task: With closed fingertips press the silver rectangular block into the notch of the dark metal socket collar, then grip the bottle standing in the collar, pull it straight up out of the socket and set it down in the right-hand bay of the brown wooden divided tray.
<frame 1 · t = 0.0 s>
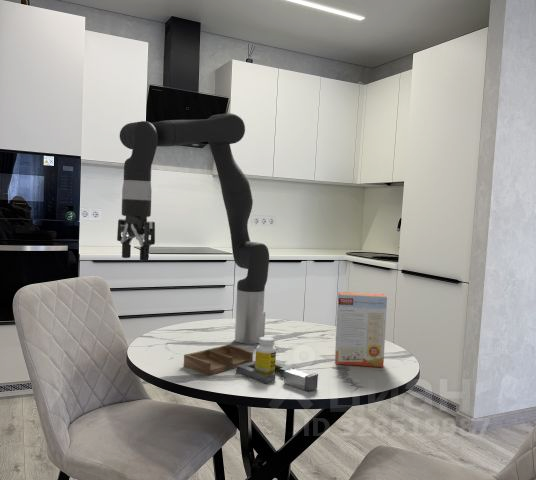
hand: (134, 259, 134), 29 cm above the table, fingers open, 8 cm apart
socket: (264, 374, 135), on the table
silver rectangular block: (300, 378, 127), point 2 cm above the table, slide at 4.0 cm
cracker box: (358, 364, 149), on the table
brown wooden divided tray: (218, 364, 142), on the table
supplement bottle: (264, 375, 135), resting in socket
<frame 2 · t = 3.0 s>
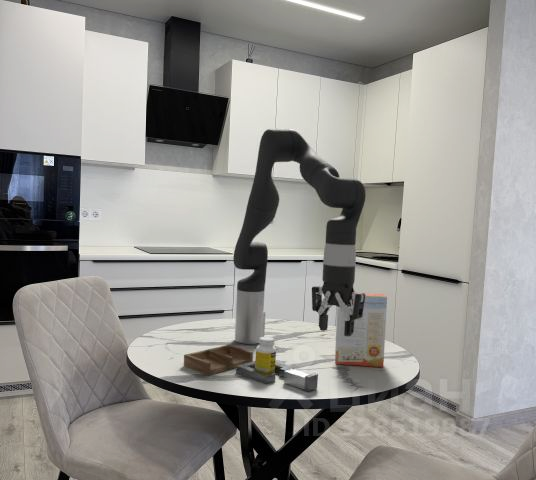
hand: (335, 332, 119), 16 cm above the table, fingers open, 6 cm apart
nothing on the table moved.
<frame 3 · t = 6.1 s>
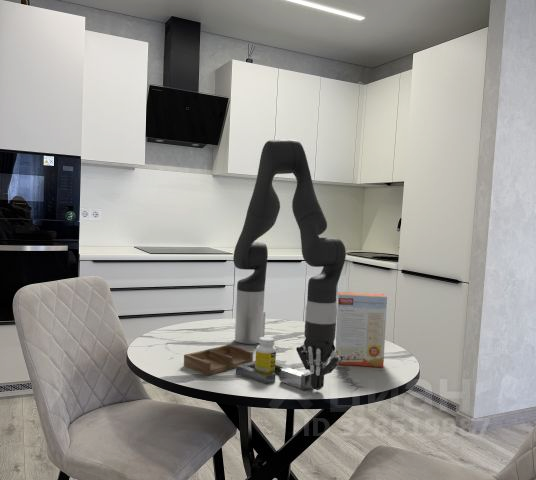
hand: (316, 388, 124), 1 cm above the table, fingers closed
silver rectangular block: (296, 377, 128), point 2 cm above the table, slide at 2.8 cm, touching gripper
everything else where it was.
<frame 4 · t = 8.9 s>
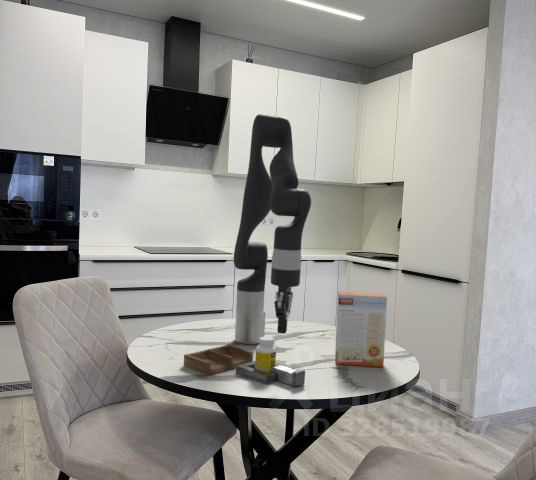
hand: (282, 332, 131), 13 cm above the table, fingers closed
silver rectangular block: (288, 374, 130), point 2 cm above the table, slide at 0.0 cm
everything else where it was.
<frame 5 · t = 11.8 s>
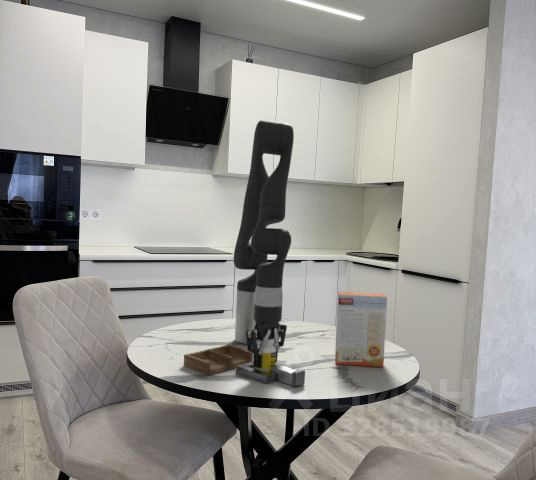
hand: (265, 364, 135), 3 cm above the table, fingers closed on supplement bottle, 5 cm apart
supplement bottle: (264, 374, 135), resting in socket, touching gripper
everything else where it was.
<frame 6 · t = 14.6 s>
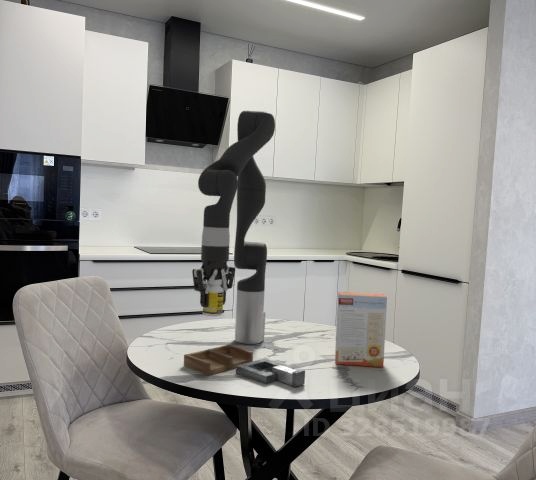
hand: (213, 305, 137), 17 cm above the table, fingers closed on supplement bottle, 5 cm apart
supplement bottle: (212, 315, 137), point 15 cm above the table, touching gripper
everything else where it was.
when the fingers open (4 cm above the table, at t = 17.5 s): supplement bottle stays where it is, resting on brown wooden divided tray.
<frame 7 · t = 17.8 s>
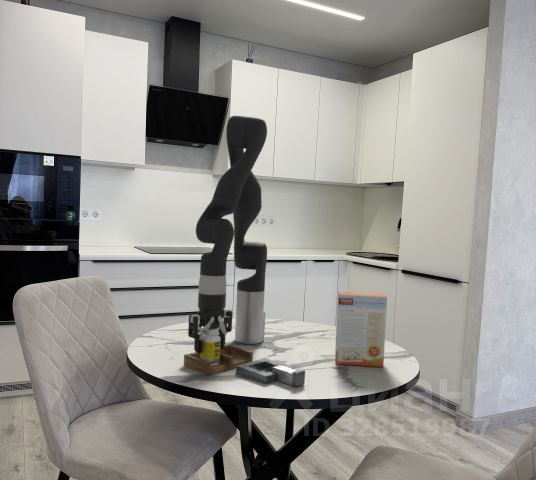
hand: (209, 350, 138), 5 cm above the table, fingers open, 7 cm apart
supplement bottle: (209, 364, 138), point 1 cm above the table, touching brown wooden divided tray
everything else where it was.
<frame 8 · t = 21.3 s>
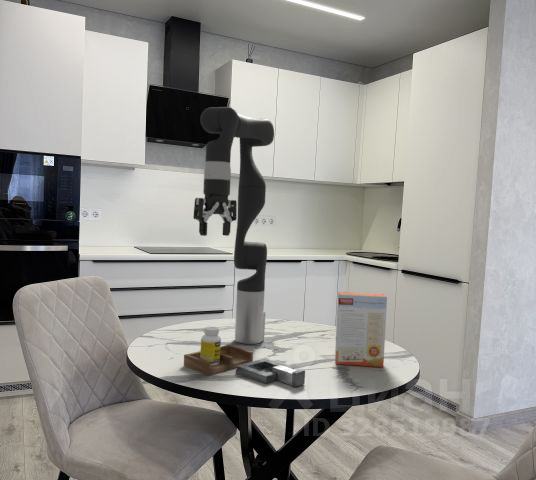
hand: (214, 235, 144), 36 cm above the table, fingers open, 8 cm apart
nothing on the table moved.
at the end: supplement bottle inside the target area on the brown wooden divided tray (0.2 cm from its centre), point 1.0 cm above the brown wooden divided tray's base; supplement bottle tilted 0°; silver rectangular block slide at 0.0 cm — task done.
